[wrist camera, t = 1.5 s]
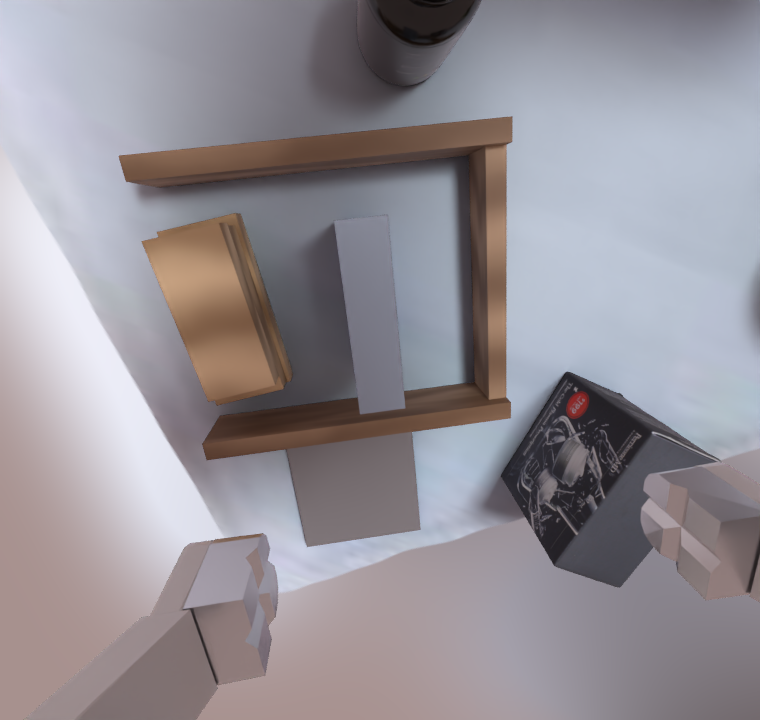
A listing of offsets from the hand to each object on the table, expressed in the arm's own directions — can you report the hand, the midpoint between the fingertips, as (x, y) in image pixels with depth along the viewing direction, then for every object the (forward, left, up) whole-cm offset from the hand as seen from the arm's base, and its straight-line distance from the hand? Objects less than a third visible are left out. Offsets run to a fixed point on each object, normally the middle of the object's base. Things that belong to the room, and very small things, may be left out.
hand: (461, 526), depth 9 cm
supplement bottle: (-18, +4, -28) cm, 34 cm away
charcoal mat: (+19, -4, -28) cm, 34 cm away
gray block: (0, -1, -28) cm, 28 cm away
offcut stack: (0, -12, -28) cm, 30 cm away
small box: (+17, +17, -28) cm, 37 cm away
